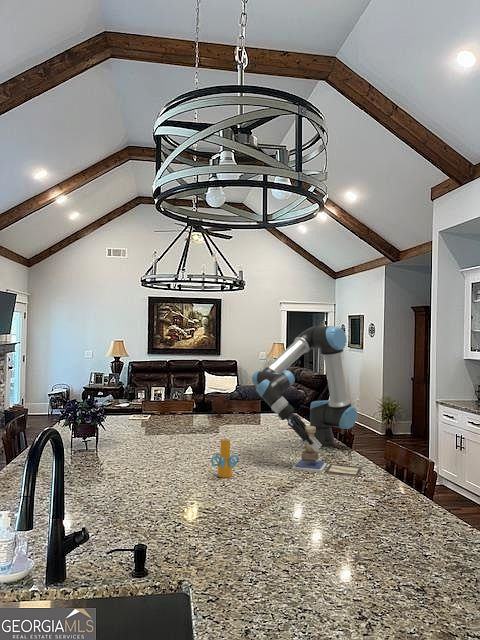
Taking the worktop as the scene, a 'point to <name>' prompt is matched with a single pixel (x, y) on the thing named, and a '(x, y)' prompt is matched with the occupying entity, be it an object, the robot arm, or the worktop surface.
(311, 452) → the stamp
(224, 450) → the orange post with loops
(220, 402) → the ice cream bowl
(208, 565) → the worktop surface
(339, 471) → the marked board
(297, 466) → the ink pad
